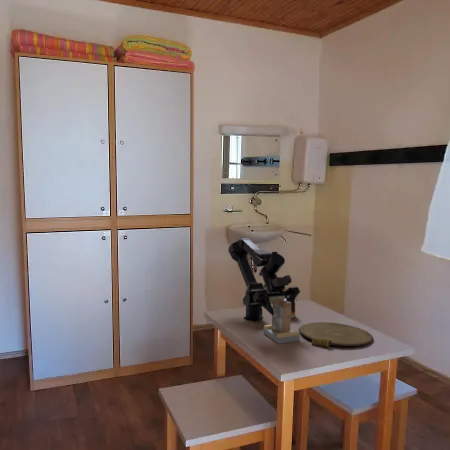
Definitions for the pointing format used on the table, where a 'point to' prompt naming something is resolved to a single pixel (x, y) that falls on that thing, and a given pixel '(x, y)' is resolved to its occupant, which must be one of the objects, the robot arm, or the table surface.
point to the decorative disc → (335, 334)
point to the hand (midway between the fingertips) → (283, 313)
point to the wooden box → (281, 316)
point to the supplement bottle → (291, 311)
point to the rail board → (281, 335)
